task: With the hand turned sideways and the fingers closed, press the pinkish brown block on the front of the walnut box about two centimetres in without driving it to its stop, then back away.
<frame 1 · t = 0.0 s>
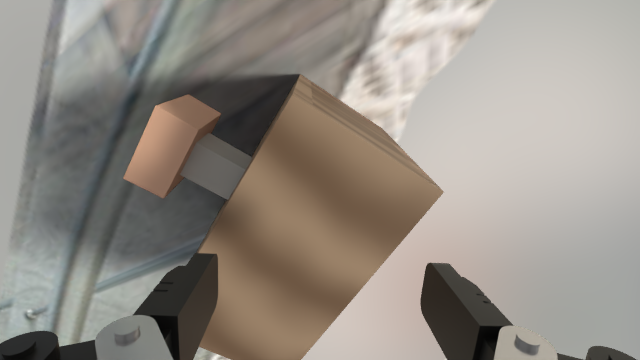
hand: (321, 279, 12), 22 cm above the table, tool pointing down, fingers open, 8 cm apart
key box: (296, 173, 34), on the table
pinkish brown block: (212, 162, 25), point 8 cm above the table, slide at 0.0 cm
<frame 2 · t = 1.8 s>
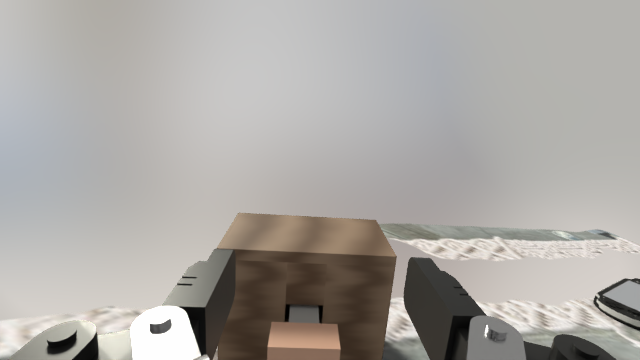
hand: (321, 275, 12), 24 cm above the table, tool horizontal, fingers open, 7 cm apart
key box: (300, 348, 40), on the table
pinkish brown block: (303, 338, 31), point 8 cm above the table, slide at 0.0 cm
gaming console: (639, 309, 55), on the table
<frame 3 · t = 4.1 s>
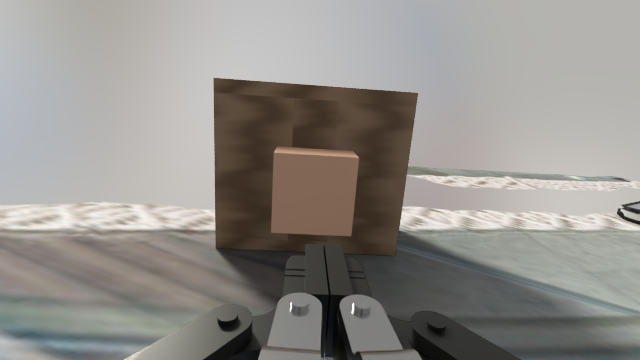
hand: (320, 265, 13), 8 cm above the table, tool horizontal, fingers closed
key box: (306, 231, 36), on the table
pinkish brown block: (312, 180, 27), point 8 cm above the table, slide at 0.0 cm
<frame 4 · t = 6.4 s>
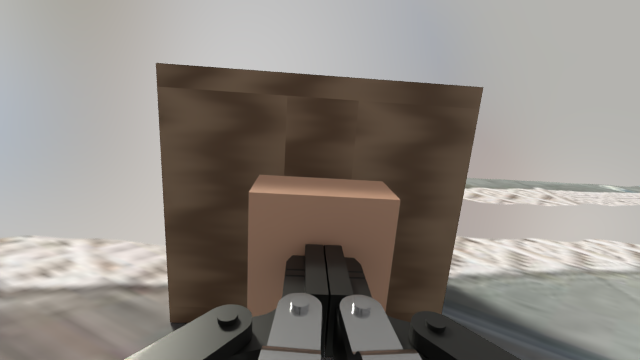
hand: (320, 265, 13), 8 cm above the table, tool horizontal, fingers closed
key box: (307, 283, 26), on the table
pinkish brown block: (316, 224, 17), point 8 cm above the table, slide at 0.8 cm, touching gripper
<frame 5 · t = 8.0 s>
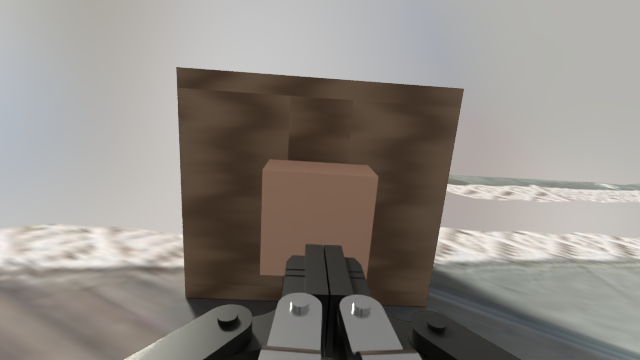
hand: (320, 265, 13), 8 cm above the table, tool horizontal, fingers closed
key box: (308, 267, 28), on the table
pinkish brown block: (315, 201, 21), point 8 cm above the table, slide at 2.2 cm
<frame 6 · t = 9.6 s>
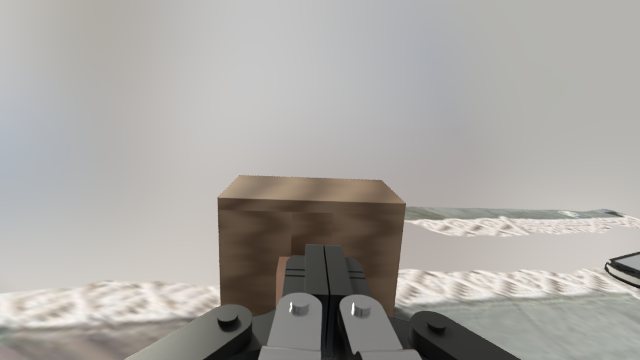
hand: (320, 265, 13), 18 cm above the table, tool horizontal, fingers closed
key box: (306, 314, 38), on the table
pinkish brown block: (310, 277, 31), point 8 cm above the table, slide at 2.2 cm
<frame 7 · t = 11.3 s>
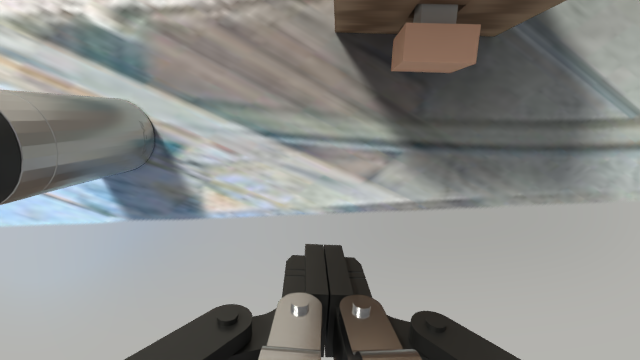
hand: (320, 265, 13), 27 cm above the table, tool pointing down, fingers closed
pinkish brown block: (434, 15, 28), point 8 cm above the table, slide at 2.2 cm
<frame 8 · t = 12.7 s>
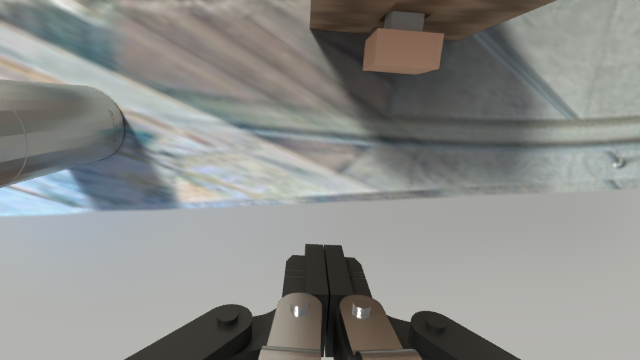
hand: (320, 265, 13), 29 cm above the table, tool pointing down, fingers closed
pinkish brown block: (403, 20, 30), point 8 cm above the table, slide at 2.2 cm
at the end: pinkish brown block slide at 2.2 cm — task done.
